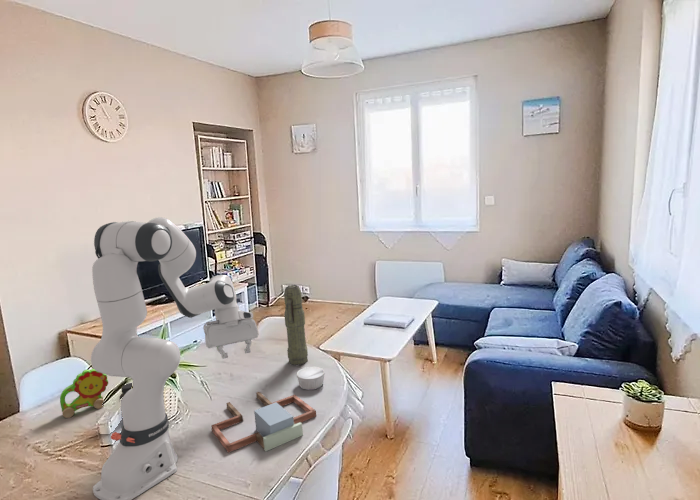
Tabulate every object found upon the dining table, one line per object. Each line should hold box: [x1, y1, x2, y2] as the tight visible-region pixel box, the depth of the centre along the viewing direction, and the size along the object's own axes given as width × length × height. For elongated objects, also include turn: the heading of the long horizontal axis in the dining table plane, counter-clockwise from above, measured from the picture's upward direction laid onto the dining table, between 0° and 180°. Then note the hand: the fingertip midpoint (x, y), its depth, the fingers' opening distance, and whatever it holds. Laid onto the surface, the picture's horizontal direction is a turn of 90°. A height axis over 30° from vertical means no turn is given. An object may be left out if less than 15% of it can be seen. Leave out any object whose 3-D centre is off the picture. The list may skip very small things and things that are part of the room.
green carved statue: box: [283, 284, 309, 366], centre depth 193 cm, size 9×12×35 cm
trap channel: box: [211, 391, 317, 454], centre depth 148 cm, size 32×31×2 cm
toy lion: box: [59, 368, 109, 419], centre depth 162 cm, size 16×5×15 cm, turn 126°
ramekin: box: [296, 366, 326, 391], centre depth 172 cm, size 11×11×5 cm
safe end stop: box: [262, 422, 304, 452], centre depth 135 cm, size 1×13×4 cm, turn 125°
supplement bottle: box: [119, 382, 133, 400], centre depth 155 cm, size 7×7×12 cm
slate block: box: [253, 401, 294, 437], centre depth 140 cm, size 12×8×7 cm, turn 36°
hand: (236, 355), depth 157 cm, fingers open, 8 cm apart
